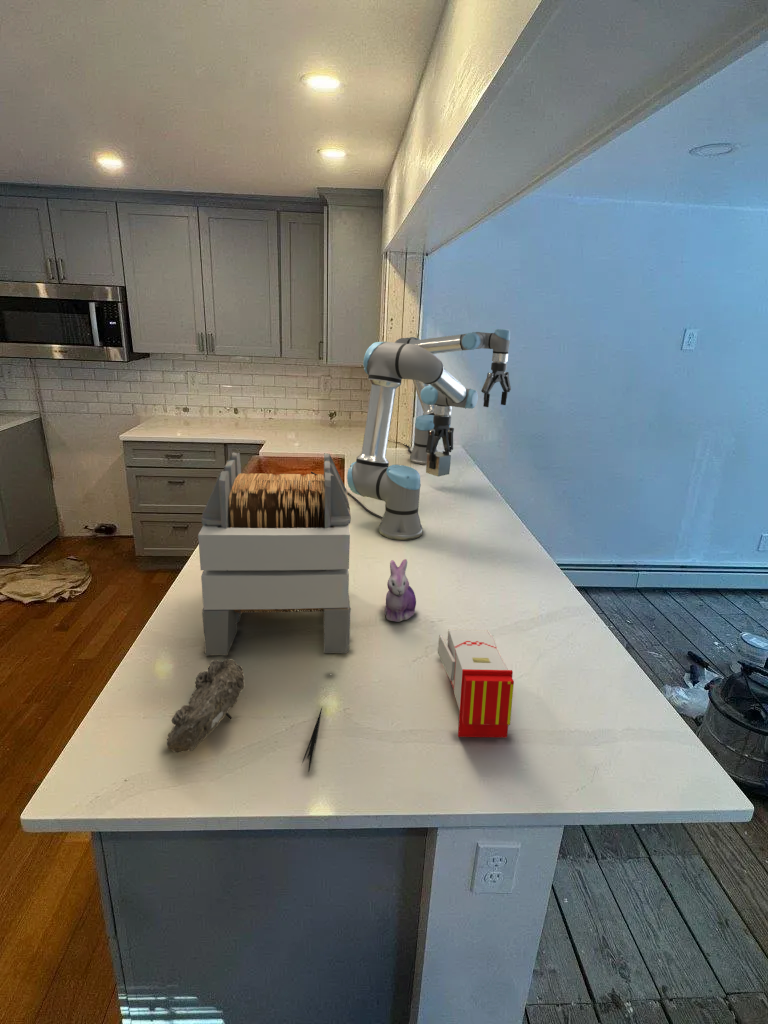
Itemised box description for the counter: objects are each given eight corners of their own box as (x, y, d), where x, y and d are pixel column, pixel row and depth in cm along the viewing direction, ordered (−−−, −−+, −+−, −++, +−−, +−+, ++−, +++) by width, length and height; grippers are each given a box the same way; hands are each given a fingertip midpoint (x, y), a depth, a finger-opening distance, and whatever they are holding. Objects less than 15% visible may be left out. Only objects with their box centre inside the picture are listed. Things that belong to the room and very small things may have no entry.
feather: (331, 679, 122) (336, 673, 122) (307, 777, 96) (313, 769, 95) (324, 675, 122) (329, 669, 121) (298, 772, 95) (304, 764, 95)
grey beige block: (449, 474, 249) (451, 455, 246) (437, 476, 245) (439, 457, 242) (437, 470, 254) (438, 451, 252) (425, 472, 250) (427, 453, 247)
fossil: (192, 660, 117) (244, 628, 112) (224, 691, 120) (276, 661, 115) (142, 746, 98) (202, 712, 93) (182, 779, 101) (242, 748, 96)
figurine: (392, 627, 141) (395, 572, 136) (374, 608, 149) (376, 556, 144) (425, 619, 145) (429, 566, 140) (405, 601, 154) (408, 550, 149)
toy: (488, 613, 130) (523, 677, 101) (484, 667, 133) (517, 744, 104) (435, 612, 130) (455, 676, 101) (432, 666, 133) (451, 743, 103)
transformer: (226, 586, 157) (217, 442, 143) (344, 585, 161) (346, 445, 147) (202, 658, 125) (189, 482, 112) (350, 654, 129) (354, 483, 115)
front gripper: (431, 418, 232) (427, 472, 240) (464, 414, 244) (460, 466, 252) (419, 415, 237) (415, 468, 245) (452, 412, 250) (447, 462, 257)
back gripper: (509, 361, 288) (504, 402, 295) (476, 362, 272) (472, 406, 280) (521, 362, 283) (516, 405, 290) (488, 363, 267) (484, 408, 274)
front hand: (438, 467), depth 249 cm, fingers closed on grey beige block, 7 cm apart
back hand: (494, 405), depth 285 cm, fingers open, 13 cm apart
